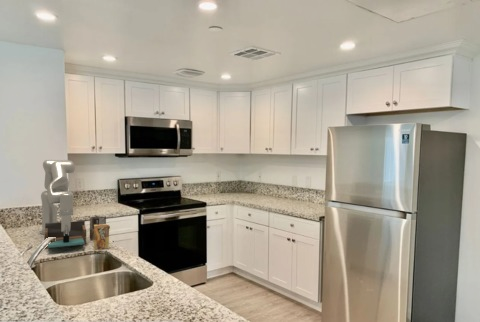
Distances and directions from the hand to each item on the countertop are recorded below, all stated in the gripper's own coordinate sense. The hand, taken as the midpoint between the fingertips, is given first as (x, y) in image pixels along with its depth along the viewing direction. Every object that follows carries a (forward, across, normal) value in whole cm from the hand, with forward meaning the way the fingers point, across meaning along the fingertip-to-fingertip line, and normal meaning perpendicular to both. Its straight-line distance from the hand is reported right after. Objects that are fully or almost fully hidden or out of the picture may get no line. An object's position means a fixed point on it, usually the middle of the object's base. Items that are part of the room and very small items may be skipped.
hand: (66, 241), depth 211 cm
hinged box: (+5, -16, 0) cm, 17 cm away
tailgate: (+2, -8, 0) cm, 8 cm away
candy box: (+6, +5, +20) cm, 21 cm away
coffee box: (+5, -17, +20) cm, 27 cm away
